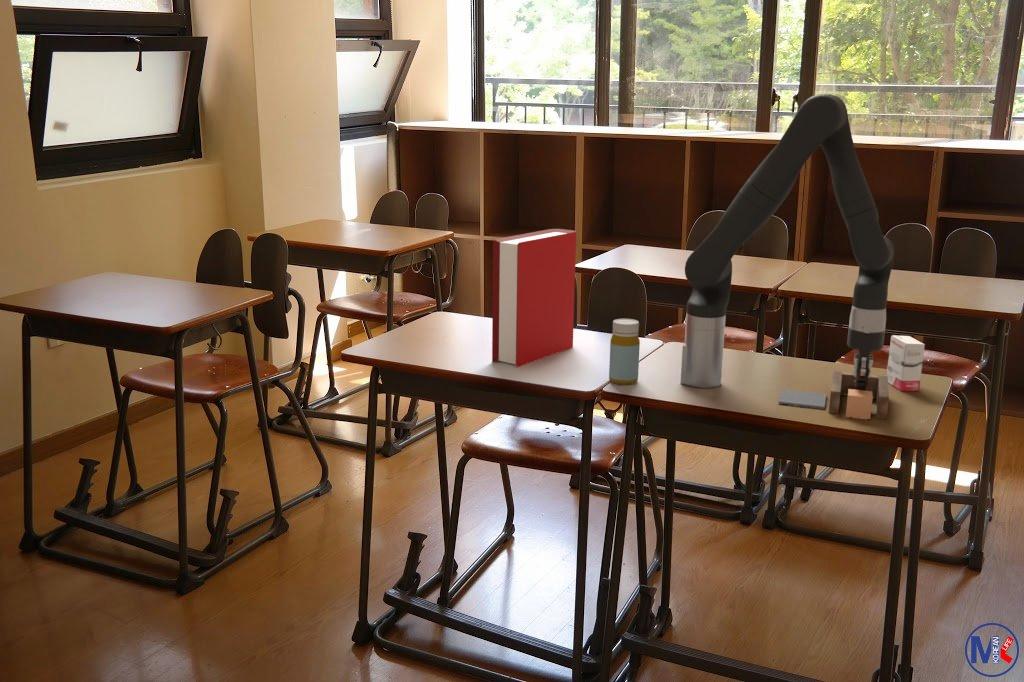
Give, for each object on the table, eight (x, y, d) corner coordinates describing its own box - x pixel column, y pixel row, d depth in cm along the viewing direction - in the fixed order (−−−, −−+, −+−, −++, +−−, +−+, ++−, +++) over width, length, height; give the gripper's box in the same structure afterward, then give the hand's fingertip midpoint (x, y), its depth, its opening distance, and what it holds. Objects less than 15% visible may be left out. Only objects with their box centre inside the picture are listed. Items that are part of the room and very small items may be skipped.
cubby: (828, 412, 214) (830, 391, 213) (831, 391, 229) (833, 371, 228) (886, 419, 210) (888, 397, 209) (885, 397, 226) (887, 376, 224)
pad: (778, 404, 219) (778, 401, 219) (782, 391, 228) (782, 389, 228) (824, 409, 216) (824, 406, 216) (826, 396, 225) (826, 394, 225)
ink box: (920, 391, 230) (926, 343, 227) (900, 391, 230) (905, 343, 227) (904, 381, 239) (909, 334, 236) (884, 381, 238) (889, 334, 235)
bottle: (613, 376, 239) (616, 317, 236) (641, 379, 237) (643, 319, 233) (605, 383, 233) (607, 323, 229) (633, 387, 231) (636, 326, 227)
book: (516, 367, 246) (518, 242, 238) (492, 362, 250) (493, 239, 242) (575, 346, 267) (579, 231, 259) (551, 341, 272) (554, 228, 264)
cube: (845, 417, 211) (848, 395, 210) (846, 410, 216) (848, 388, 214) (870, 419, 209) (872, 397, 208) (869, 412, 214) (872, 391, 213)
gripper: (849, 318, 220) (841, 391, 224) (848, 332, 207) (840, 408, 212) (884, 321, 217) (876, 395, 222) (885, 335, 205) (877, 412, 209)
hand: (859, 401), depth 217 cm, fingers closed
